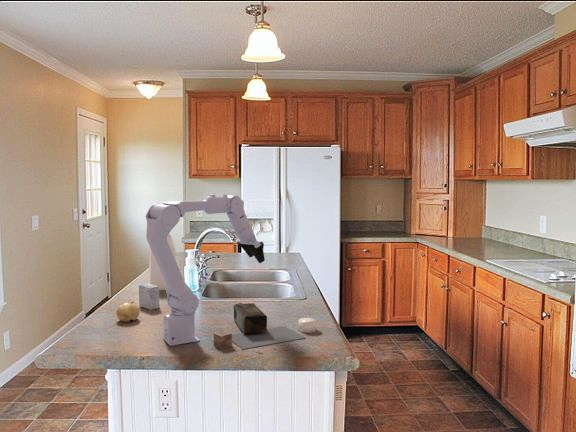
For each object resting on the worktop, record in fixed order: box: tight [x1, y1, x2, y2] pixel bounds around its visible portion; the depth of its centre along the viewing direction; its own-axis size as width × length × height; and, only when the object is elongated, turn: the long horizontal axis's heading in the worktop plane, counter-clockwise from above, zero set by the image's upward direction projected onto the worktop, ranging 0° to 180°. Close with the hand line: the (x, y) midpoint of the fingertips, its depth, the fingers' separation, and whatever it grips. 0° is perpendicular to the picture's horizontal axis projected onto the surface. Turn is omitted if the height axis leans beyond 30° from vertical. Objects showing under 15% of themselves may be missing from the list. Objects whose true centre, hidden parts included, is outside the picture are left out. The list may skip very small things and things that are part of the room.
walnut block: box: [213, 330, 233, 350], centre depth 156 cm, size 4×4×4 cm
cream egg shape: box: [298, 317, 317, 334], centre depth 172 cm, size 6×6×4 cm
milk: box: [148, 232, 177, 291], centre depth 234 cm, size 12×12×26 cm
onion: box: [115, 299, 140, 323], centre depth 182 cm, size 8×8×7 cm
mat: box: [232, 325, 306, 350], centre depth 165 cm, size 22×14×1 cm, turn 119°
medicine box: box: [138, 283, 160, 311], centre depth 200 cm, size 8×4×9 cm, turn 47°
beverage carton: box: [233, 302, 268, 335], centre depth 175 cm, size 8×19×7 cm, turn 17°
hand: (257, 258), depth 180 cm, fingers open, 7 cm apart
